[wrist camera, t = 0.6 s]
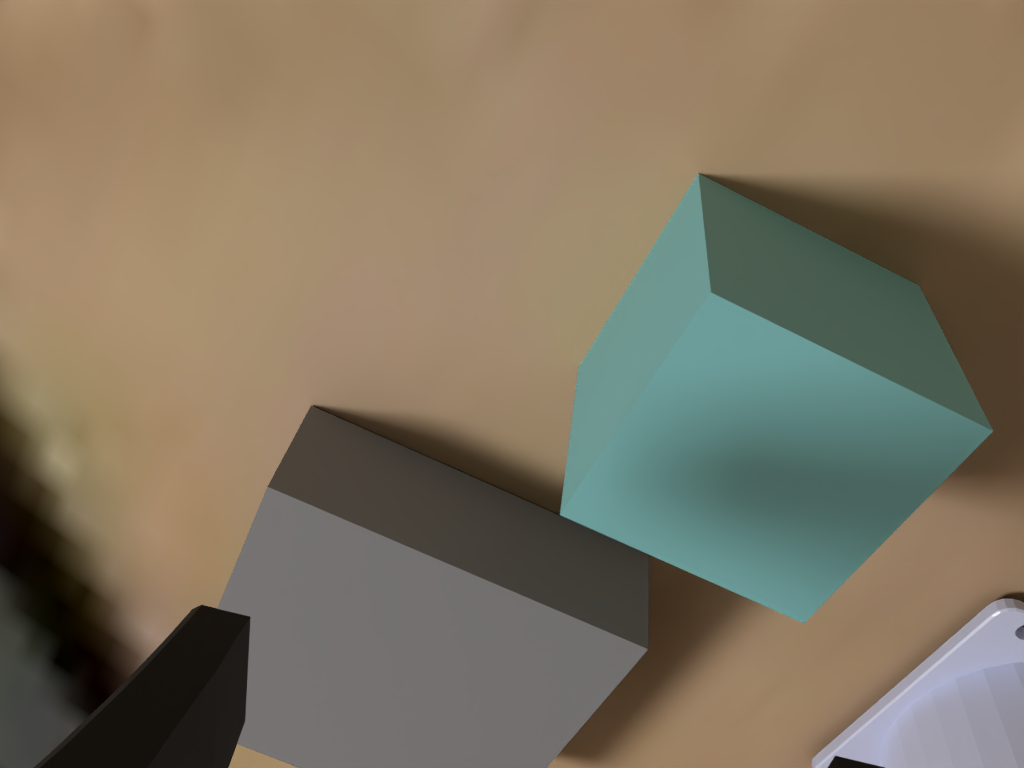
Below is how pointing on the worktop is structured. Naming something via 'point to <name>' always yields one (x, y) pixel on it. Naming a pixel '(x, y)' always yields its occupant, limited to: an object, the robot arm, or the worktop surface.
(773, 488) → the teal cube
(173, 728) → the robot arm
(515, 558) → the base slab
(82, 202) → the worktop surface
